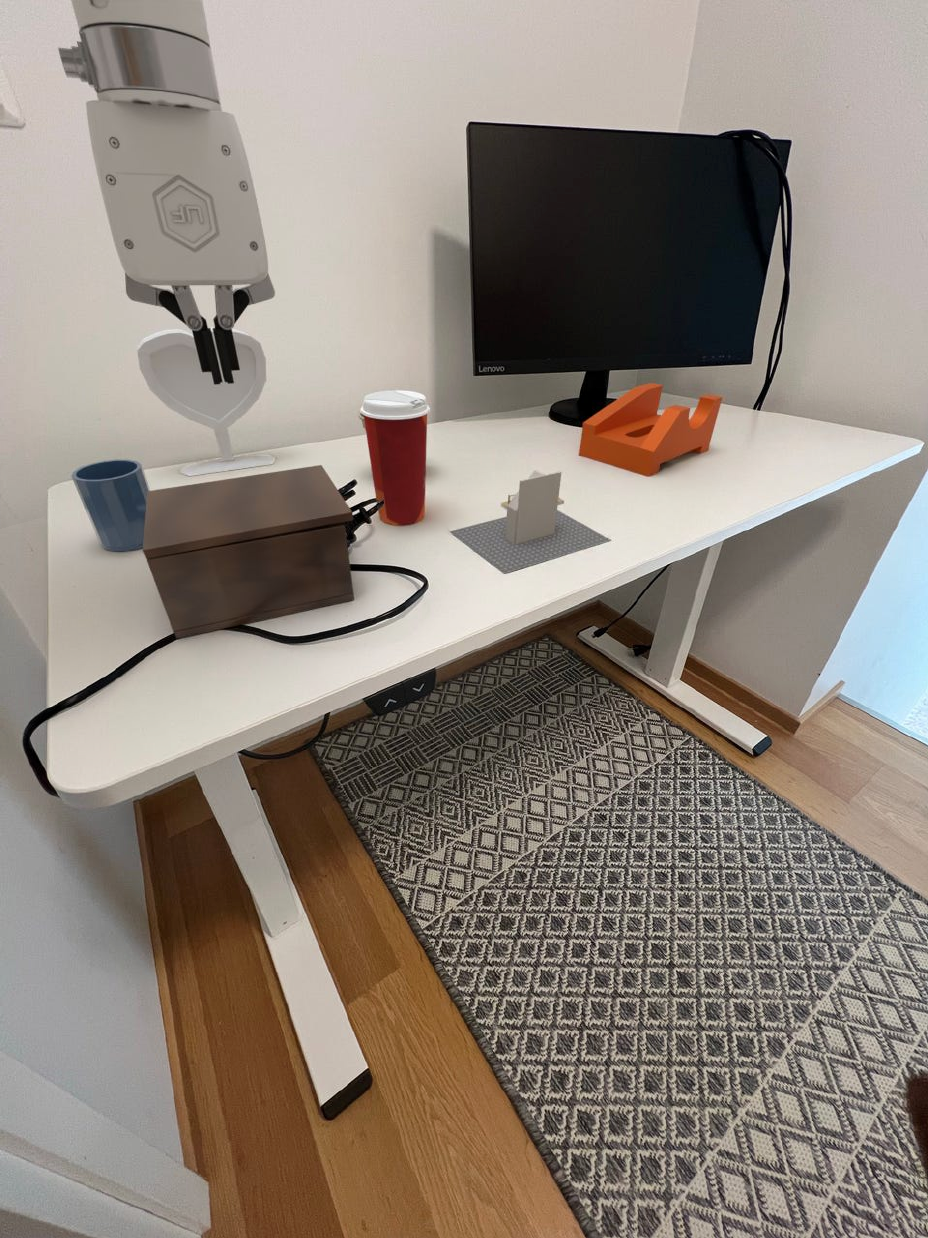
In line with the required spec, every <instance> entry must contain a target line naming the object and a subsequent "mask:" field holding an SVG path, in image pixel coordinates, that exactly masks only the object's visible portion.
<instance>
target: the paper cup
mask: <svg viewBox="0 0 928 1238" xmlns="http://www.w3.org/2000/svg"><path fill="white" fill-rule="evenodd" d="M427 402H428V401H427V398H426V396H425V395H424V394H422V393H420V392H417V391H412V390H401V389H391V390H381V391H375V392H371V393H369V394H368V393H367V395H365V396H364V398H363V402H362V406H361V407H360V410H359V411H360V412H361V413H362V414H363V415H364V421H365V428H366V430H365V434H366V440H367V447H368V454H369V461H370V468H371V474H372V475H371V476H372V481H373V488H374V495H375V500H384V504H383V506H382V507H381V508H380V509H379V510H378V509H377V512H378V518H379V519H380V521H381V522H383V523H385V524H387V525H391V526H410V525H414V524H416V523H419V522H421V521H422V520H423V519H424V517H425V507H426V484H427V483H426V481H427V479H426V477H427V445H428V444H427V441H428V414H429V413H430V412H431V408H430V406H429V405H428V403H427ZM365 428H364V429H365ZM378 503H380V501H376V505H377V504H378Z"/></svg>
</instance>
